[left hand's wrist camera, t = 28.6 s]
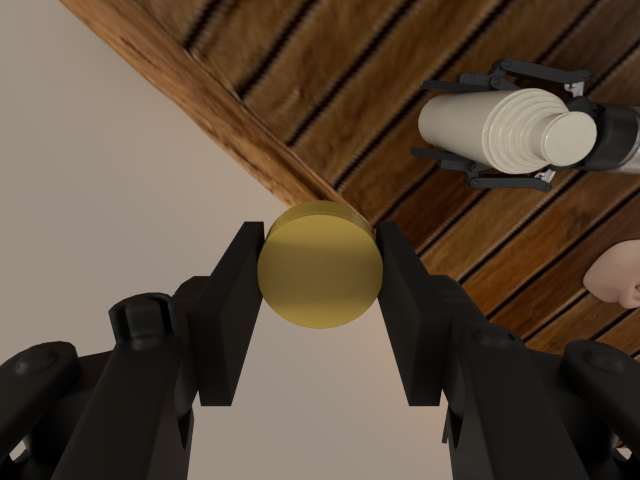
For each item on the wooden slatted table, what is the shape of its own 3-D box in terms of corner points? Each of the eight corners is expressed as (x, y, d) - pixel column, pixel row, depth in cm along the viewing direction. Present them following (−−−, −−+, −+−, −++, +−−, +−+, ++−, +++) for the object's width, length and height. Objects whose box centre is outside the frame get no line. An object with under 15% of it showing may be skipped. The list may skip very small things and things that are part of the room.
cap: (391, 217, 14) (402, 234, 12) (356, 313, 15) (360, 340, 14) (278, 186, 13) (272, 199, 11) (253, 288, 15) (245, 313, 13)
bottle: (467, 143, 48) (614, 183, 24) (418, 149, 48) (515, 195, 24) (469, 90, 45) (633, 77, 22) (417, 97, 46) (523, 92, 22)
